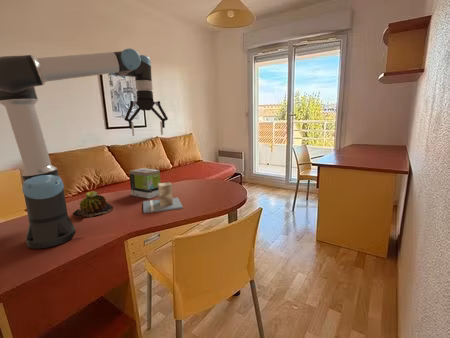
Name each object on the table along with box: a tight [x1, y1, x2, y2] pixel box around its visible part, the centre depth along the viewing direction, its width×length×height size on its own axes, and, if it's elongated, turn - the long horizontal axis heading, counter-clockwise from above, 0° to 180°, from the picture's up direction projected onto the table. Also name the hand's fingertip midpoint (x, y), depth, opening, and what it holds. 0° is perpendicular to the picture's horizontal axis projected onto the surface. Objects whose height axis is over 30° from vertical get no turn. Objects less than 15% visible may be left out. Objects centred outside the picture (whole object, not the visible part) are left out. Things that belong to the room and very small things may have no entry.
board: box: [142, 197, 184, 214], centre depth 121 cm, size 18×16×1 cm
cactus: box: [72, 190, 114, 218], centre depth 114 cm, size 17×16×10 cm
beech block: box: [158, 181, 174, 206], centre depth 121 cm, size 6×6×10 cm
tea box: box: [128, 167, 162, 200], centre depth 138 cm, size 15×10×15 cm, turn 58°
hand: (148, 135), depth 121 cm, fingers open, 13 cm apart
